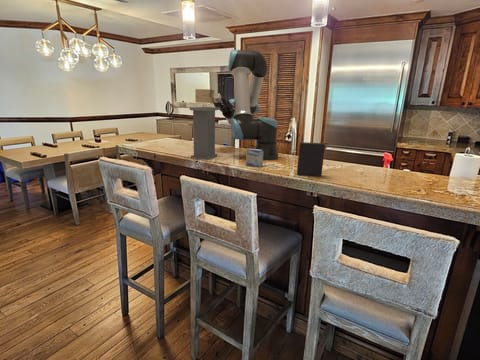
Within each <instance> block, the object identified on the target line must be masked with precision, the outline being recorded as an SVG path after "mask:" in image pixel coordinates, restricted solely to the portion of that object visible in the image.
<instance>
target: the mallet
mask: <svg viewBox="0 0 480 360" xmlns="http://www.w3.org/2000/svg"><path fill="white" fill-rule="evenodd" d="M194 93H195V95H194V96H195V98H194V99H195V103H199V104H200V103H201V104H202V103H203V104H213V103H217V102H220V101H219V99H218V98H214V93H215V89H202V88H195V91H194Z"/></svg>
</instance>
